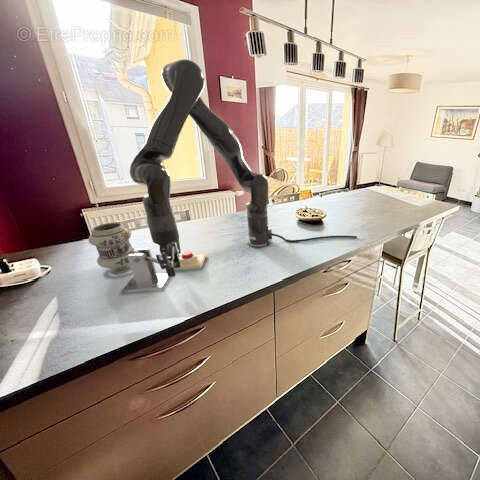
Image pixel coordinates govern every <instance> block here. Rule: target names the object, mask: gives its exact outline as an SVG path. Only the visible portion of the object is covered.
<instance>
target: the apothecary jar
mask: <svg viewBox="0 0 480 480" xmlns="http://www.w3.org/2000/svg"><path fill="white" fill-rule="evenodd" d="M90 231H91V234H90V235H89V236H88V243H89V244H90V245H92V246H94V247H95V248H96V251H97V253H98V257H97V259H96V263H97V265H98V266H99V267H101V268H103V269H109V272H110V273H111V274H123V273H126V272H129V271H132V268H131V265H130V262H129V259H128V255H129V254H134V251H133V250H134V249H135V247H132V245H131V242H130V239H131V237H132V231H130V229H128V228H126V227H124V226H123V224H122V223H121V222H106V223H101V224H98V225H95V226H93V227H92V228H91V229H90Z"/></svg>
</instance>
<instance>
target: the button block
mask: <svg viewBox="0 0 480 480" xmlns="http://www.w3.org/2000/svg"><path fill="white" fill-rule="evenodd" d="M191 252H192V255H193V257H191V258H188V259H183V258H182V253H180V254H179V255H180V257H179V261H180V265H181V267H180V268H174V270H181V269H182V270H184V269H201V268H202V266H203V264H204V262H205V260H206V258H207V255H206V253H201V254H200V253H199V254H198V253H196V252H193V251H191Z"/></svg>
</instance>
